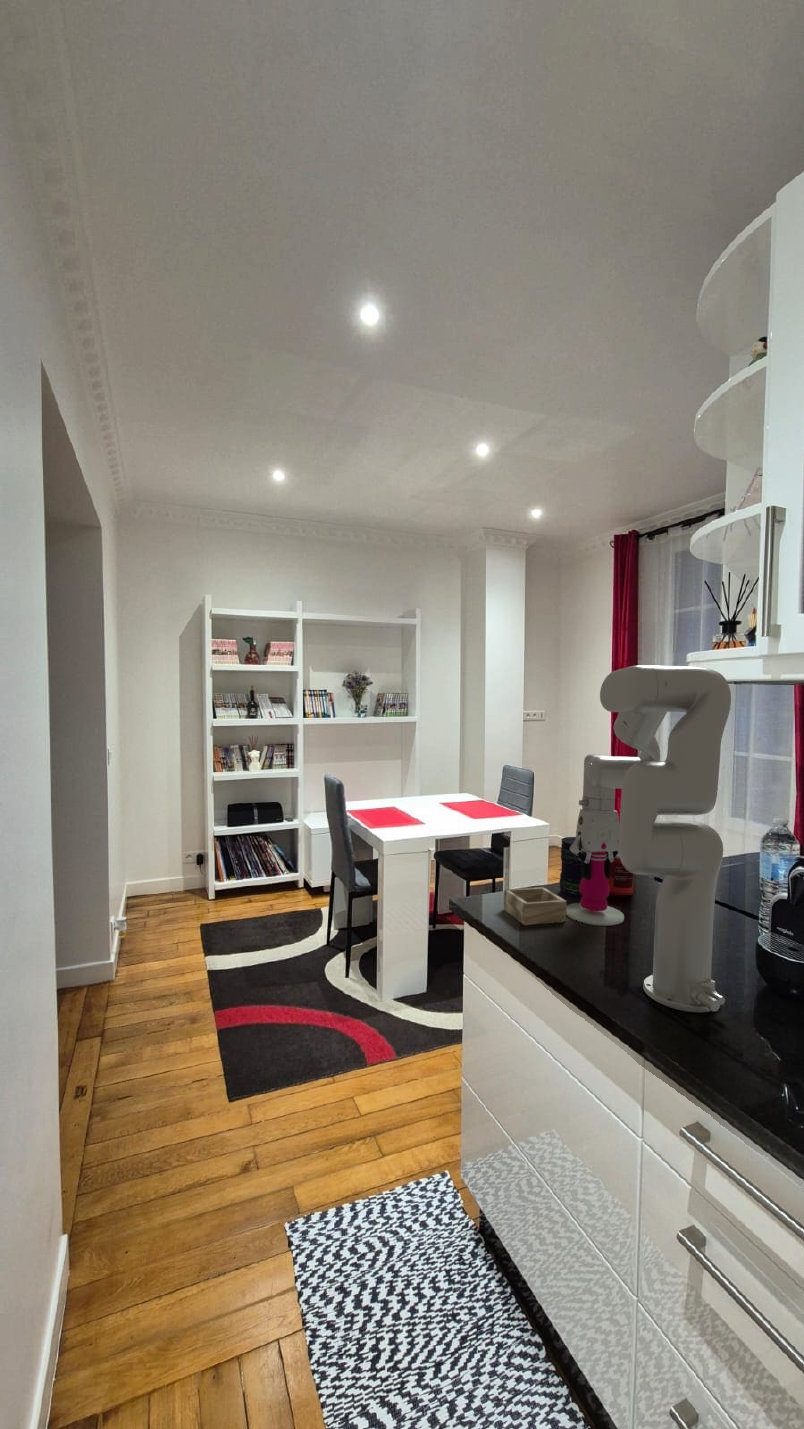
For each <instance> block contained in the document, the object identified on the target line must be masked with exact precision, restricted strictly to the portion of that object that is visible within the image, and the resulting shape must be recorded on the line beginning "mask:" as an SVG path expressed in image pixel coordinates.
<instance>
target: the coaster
mask: <svg viewBox="0 0 804 1429" xmlns="http://www.w3.org/2000/svg"><path fill="white" fill-rule="evenodd" d="M566 917H568V918H569V919H572V920H574V921H576V920H577V921H576V922H579V923H582V922H583V924H587V925H591V926H603V927H604V926H605V927H606V926H607V927H608V926H616V925H617V926H618V925H620V924H622V923H623V922H624V921H625V915H624V913H623V912H621V910H619V909H617V908H614V907H613V906H609V905H607V909H606V910H604V911H593V910H588V909H585V908H583V907H582V906H581V902H574V903H573V902H572V903H570V904H566Z"/></svg>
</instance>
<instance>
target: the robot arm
mask: <svg viewBox="0 0 804 1429" xmlns="http://www.w3.org/2000/svg"><path fill="white" fill-rule="evenodd" d="M599 690H600V691H599V700H600V704H601V707H602V708H603V709H604V710H606V711H607V712H610V713H618V714H617V716H616V718H615V721H614V724H613V731H614V734H615V736H616V737H617V738H618V739H619V740H620V742H622V743H623V744H625V745H627V746H629V747H631V748H632V749H635V750H638V751H640V753H639V754H638V756H612V755H608V754H599V753H596V754H595V753H591V754H587V755H585V757H584V762H583V784H582V785H583V786H582V787H583V788H582V789H583V790H582V799H579V800H578V805H579V806H580V807H582V808H580V810H579V812H578V817H577V822H576V823H577V824H576V831H575V837H576V840H575V841H574V842H573V844H572V845H571V847H570V850H571V851H572V852H573V853H574V854H575V855H576V856H577V857H578V858H579V860H580V861H581V876H582V877H583V878H585V879H587V880H590V879H591V863H589V861H590V858H591V854H592V852H605V853H606V854H607V856H606V858H607V859H606V860H605V862H604V873H605V876H606V878H610V876H611V862H613V861H614V858H615V857H616V856H617V854H618V853H619V856H620V860H621V862H622V864H623V866H624V867H625V869H626V870H628V871H629V872H631V873H634V875H638V876H639V875H640V876H641V875H642V876H665V877H664V878H663V880H662V881H661V883H660V885H659V887H658V889H657V892H656V897H655V898H656V900H655V910H654V912H655V917H654V937H653V938H654V940H653V962H652V965H653V966H652V974H651V975H649V976H647V977H645V979H644V980H643V984H642V985H643V987H642V988H643V991H644V992H645V994H646V995H647V996H648V997H649V998H650V999H652V1000H653V1001H655V1002H656V1003H659V1004H661V1005H663V1006H666V1007H668V1008H672V1009H675V1010H678V1011H683V1012H689V1013H710V1012H718V1011H719V1009H720V1008H721V1005H724V1004H725V1002H726V998H725V997H724V996H723V995H721V994H720V993H718V991H716V981H715V980H713V979H712V962H713V961H712V958H713V938H714V934H713V933H714V916H715V903H716V902H715V901H716V900H715V899H716V889H717V884H718V878H719V873H720V869H721V868H722V861H723V859H724V857H723V856H724V846H723V845H724V844H723V843H724V842H723V841H722V838H721V836H720V834H719V833H718V832H717V830H716V829H714V827H712V826H709V825H707V824H705V823H702V822H698V821H691V820H690V821H687V820H686V821H685V820H683V821H681V820H664V821H662V820H656V819H657V817H658V816H700V815H706V814H708V813H710V812H711V811H713V809H715V806H716V803H717V798H718V790H719V789H718V788H719V778H720V776H719V775H720V765H721V750H722V749H721V748H722V747H721V746H722V740H723V735H724V732H725V728H726V725H727V721H728V718H729V714H730V711H731V706H732V693H731V688H730V685H729V682H728V681H727V680H726V677H725V676H724V675H723V674H721V673H720V672H719V671H716V670H714V669H711V668H705V667H700V666H699V667H698V666H684V665H682V666H681V665H650V664H649V665H643V664H641V665H640V664H639V665H631V666H627V667H624V668H620V669H616V670H613V671H612V672H610V673H608V674H607V676H606V677H605V678H604V680H603V682H602V684H601V686H600V689H599ZM669 712H670V713H673V712H674V713H685V714H684V715H683V716H681V717H680V718H679V720H678V721H677V722H676V723H675V725H674V726H673V728H672V729H671V731H670V732H669V735H668V737H667V738H668V739H667V754H666V758H665V760H663V761H661V750H660V749H661V748H660V745H659V743H658V740H657V739H656V737H655V735H656V733H657V731H658V730H659V728H660V726H661V724H662V722H663V720H664V718H665V717H666V715H667V714H668V713H669ZM616 789H621V797H620V811H619V812H620V813H618V810H616V809H615V799H616V796H615V795H616ZM602 842H603V843H605V844H606V849H601V845H602V844H603V843H602ZM578 848H581V852H580V851H579V849H578Z"/></svg>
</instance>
